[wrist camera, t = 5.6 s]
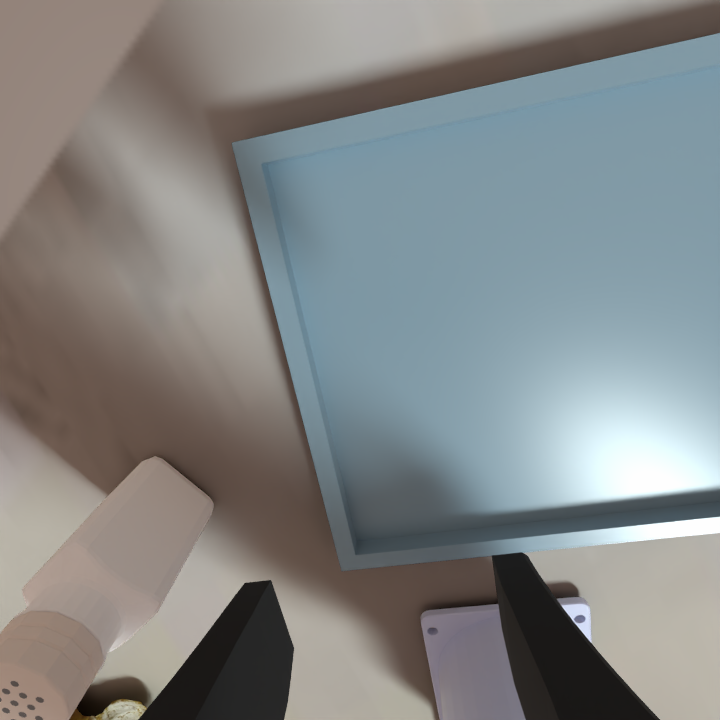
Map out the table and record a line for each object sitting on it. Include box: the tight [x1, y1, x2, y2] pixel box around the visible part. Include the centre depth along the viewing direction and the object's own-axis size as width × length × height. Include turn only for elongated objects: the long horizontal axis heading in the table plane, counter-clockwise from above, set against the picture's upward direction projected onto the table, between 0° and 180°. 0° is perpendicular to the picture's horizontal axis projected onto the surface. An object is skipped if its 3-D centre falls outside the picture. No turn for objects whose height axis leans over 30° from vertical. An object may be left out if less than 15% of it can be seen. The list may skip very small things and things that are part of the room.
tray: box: [232, 33, 720, 571], centre depth 18 cm, size 18×18×2 cm
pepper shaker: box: [0, 456, 214, 720], centre depth 18 cm, size 4×4×10 cm
